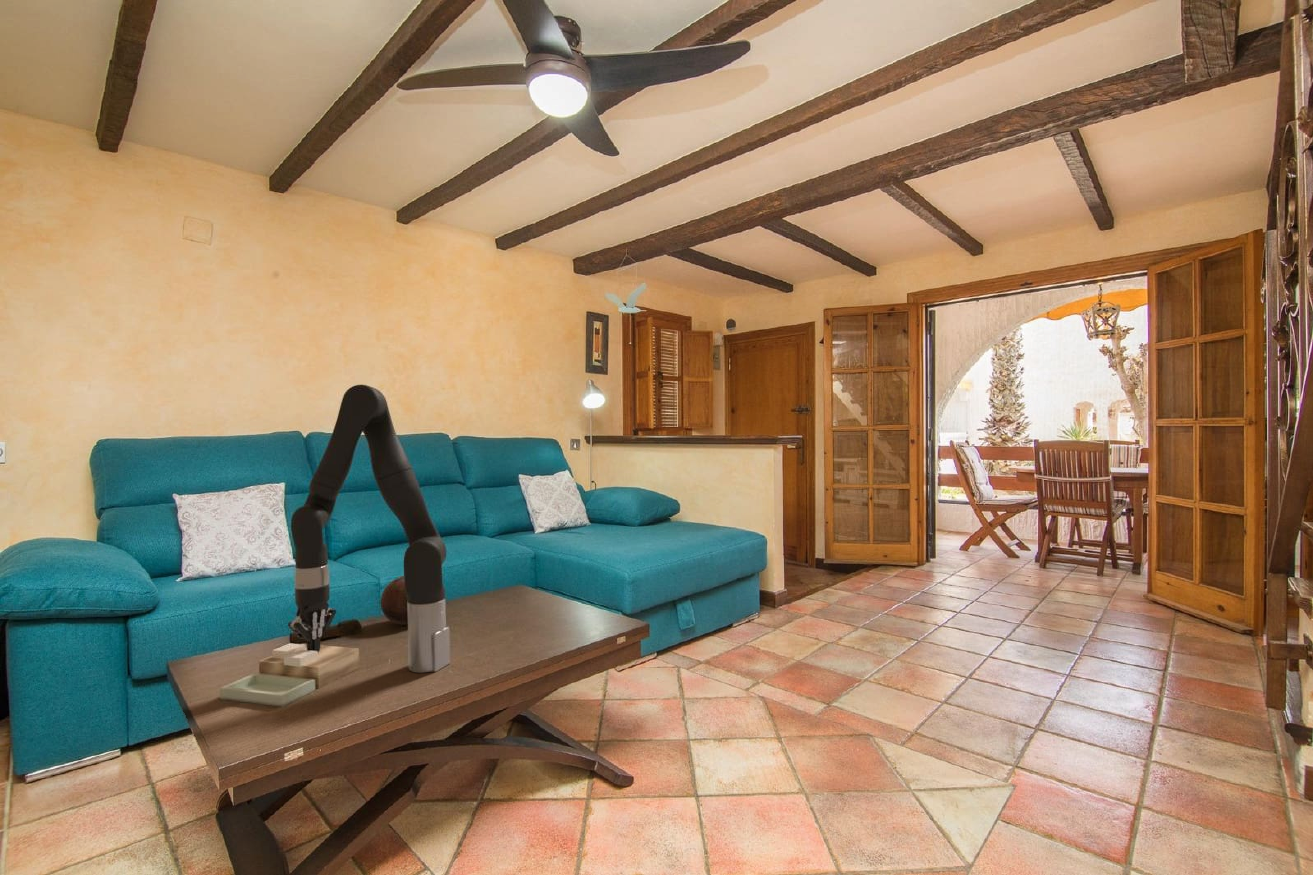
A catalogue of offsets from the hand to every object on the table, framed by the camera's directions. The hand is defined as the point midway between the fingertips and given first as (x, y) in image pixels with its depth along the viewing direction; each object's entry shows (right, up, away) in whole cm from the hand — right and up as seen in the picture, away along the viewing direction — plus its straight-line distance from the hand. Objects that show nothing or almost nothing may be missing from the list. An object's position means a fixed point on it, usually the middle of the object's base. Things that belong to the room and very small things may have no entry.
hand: (313, 652), depth 152 cm
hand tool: (-13, -7, +29) cm, 32 cm away
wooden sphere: (+6, -6, +42) cm, 43 cm away
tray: (-5, -6, -10) cm, 13 cm away
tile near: (-1, -1, -4) cm, 4 cm away
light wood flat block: (-1, -6, +1) cm, 6 cm away
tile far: (-7, -1, +1) cm, 7 cm away
